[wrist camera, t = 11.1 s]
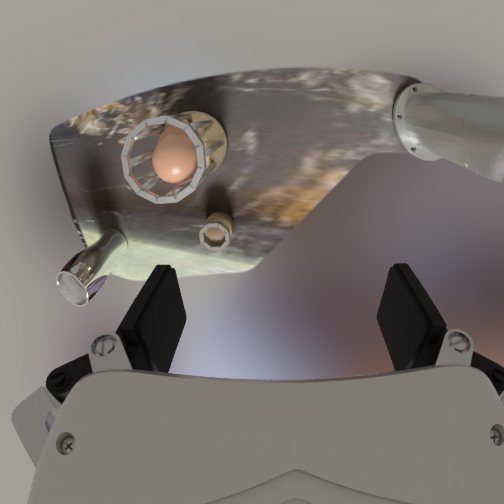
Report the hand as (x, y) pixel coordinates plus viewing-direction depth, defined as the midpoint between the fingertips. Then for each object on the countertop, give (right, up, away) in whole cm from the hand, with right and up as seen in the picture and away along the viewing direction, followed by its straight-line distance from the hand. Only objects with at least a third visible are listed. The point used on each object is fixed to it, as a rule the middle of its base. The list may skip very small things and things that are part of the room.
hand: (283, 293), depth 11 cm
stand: (-6, +6, +32) cm, 33 cm away
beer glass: (-27, +4, +35) cm, 45 cm away
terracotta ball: (-10, +12, +18) cm, 23 cm away
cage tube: (-10, +17, +26) cm, 33 cm away
